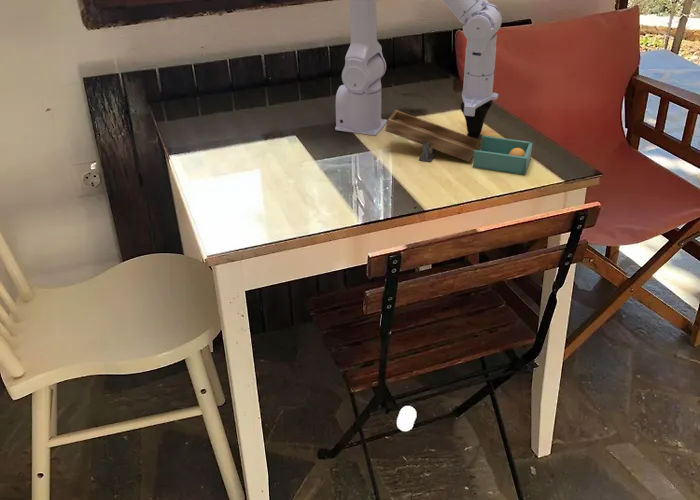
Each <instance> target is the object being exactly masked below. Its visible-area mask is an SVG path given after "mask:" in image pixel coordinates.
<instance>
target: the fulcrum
mask: <svg viewBox="0 0 700 500" xmlns="http://www.w3.org/2000/svg"><path fill="white" fill-rule="evenodd" d="M438 152H439V151H438V150H436V149H433V148H430V147H429V144H428V143H423V145H422V153H420V156H419V157H418V161H421V162H424V163H425V162H427V163H431V162H432V161H433V159H434V158H435V156H436V154H437V153H438Z"/></svg>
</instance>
